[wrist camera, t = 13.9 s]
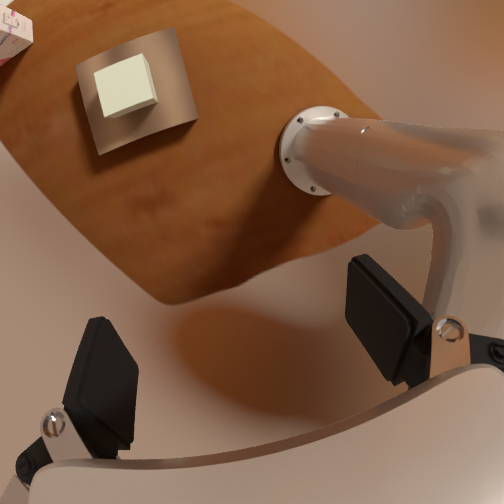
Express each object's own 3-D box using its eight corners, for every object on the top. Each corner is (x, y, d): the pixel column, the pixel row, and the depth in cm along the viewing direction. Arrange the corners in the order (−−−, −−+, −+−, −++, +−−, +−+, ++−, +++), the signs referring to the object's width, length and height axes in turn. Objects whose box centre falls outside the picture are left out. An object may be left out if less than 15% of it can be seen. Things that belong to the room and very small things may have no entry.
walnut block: (175, 36, 24) (174, 26, 21) (197, 119, 30) (198, 118, 26) (86, 71, 23) (75, 66, 20) (108, 151, 29) (99, 155, 25)
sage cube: (148, 63, 22) (142, 53, 18) (158, 102, 25) (153, 97, 21) (106, 79, 22) (93, 73, 18) (115, 118, 24) (104, 117, 20)
